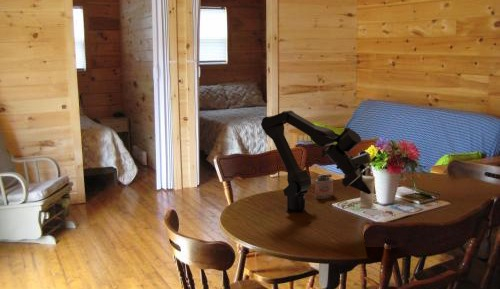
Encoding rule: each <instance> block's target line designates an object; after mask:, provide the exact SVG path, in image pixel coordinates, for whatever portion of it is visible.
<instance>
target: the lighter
mask: <svg viewBox="0 0 500 289" xmlns="http://www.w3.org/2000/svg"><path fill="white" fill-rule="evenodd" d="M314 183H315V184H314V188H315V189H314V191H315V192H314V199H318V200H319V199H321V200H322V199H323V200H324V199H330V198H331V197H332V196H333V194H334V192H333V189H334V186H333V185H334V179H332V173H328V174H327V173H326V174H324V173H322V174H319V175H317V179H315V180H314Z"/></svg>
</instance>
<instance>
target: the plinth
mask: <svg viewBox="0 0 500 289" xmlns="http://www.w3.org/2000/svg"><path fill="white" fill-rule="evenodd" d="M382 213H383V210H381V209H380V210H378V209H365V211H364V212H363V214H364V215H374V216H382Z"/></svg>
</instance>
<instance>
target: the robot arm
mask: <svg viewBox="0 0 500 289" xmlns="http://www.w3.org/2000/svg"><path fill="white" fill-rule="evenodd" d="M285 124H289V125H290V126H292V127H293V128H295V129H297V130H299V131H301V132H302V133H304V134H306V135H307V136H308V137H310V140H311V141H312V142H313V143H314V144H316V145H317V146H318V147H321V148H322V147H326V146H327V148H323V149H322V150H321V158H325V157H326V156H327V157H328V158H329V159H330V160H331V161H332V162H333V163H334V164H335V165H336V167H335V168H336V169H337V170H340V171H341V172H342V173H343V174H344V175H343V178H342V179H341V184H342V185H343V187H344V188H347V187H348V186H349V187H352V188H354V189H356V190H358V191H360V192H361V191H363V192H365V193H367V194H370V193H371V191H370V190H369V188H368V187H367V185H366V184H365V182H364V181H363V176H367V173H368V172H367V171H368V169H367V168H368V164H369V163H371V162H372V158H371V154H370V152H369V151H366V150H364V149H363V150H361V151H360V152H359V155H356V156H353V155H352V154H348V153H349V152H351V151H352V150H353V149H354V148H356V147H357V145H359V144H360V143H361V142H362V139H361V135H360V134H359V133H357V132H356V131H355V130H354V129H351V127H346V128H344V130H343V131H342V132H341V133H340V134H339V133H336V132H335V131H334V130H333V129H331V128H329V127H324V126H320V125H316V124H315V123H312V122H311V121H309V120H307V119H306V118H304V117H303V116H301V115H299V114H297V113H296V112H294V111H293V110H285V111H282V112H280V113H278V114H275V115H268V116H264V117H263V118H262V120H261V123H260V126H261V129H262V130H263V132H264V133H265V134H266V136H267V137H268V138H270V139H271V140H272V142H273V144H274V146H275V148H276V150H277V152H278V155H279V158H280V159H281V161H282V164H283V166H284V167H285V170H286V172H287V178H286V181H287V184H288V185H287V186H285V188H284V189H283V192H282V193H283V195H284V196H285V197H287V198H286V212H288V213H289V212H292V213H304V210H306V197H305V194H307V193H308V190H309V189H310V188H311V185H312V181H311V179H312V177H310V175H309V173H308V169H302V168H300V166H299V164H298V162H297V159H296V157H295V156H294V154H293V151H292V148H291V147H290V144H289V143H288V141H287V138H286V135H285V126H284V125H285ZM334 143H336V144H334Z"/></svg>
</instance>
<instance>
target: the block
mask: <svg viewBox="0 0 500 289" xmlns="http://www.w3.org/2000/svg"><path fill="white" fill-rule="evenodd" d="M375 178H376V177H375V176H373V175H366V176H363V181H364V182H365V184H366V185H367V187H368V188H369V190H370V191H371V193H370V194H367V193H365V192H363V191H360V194H359V195H360V198H359V209H365V210H367V209H371V210H373V207H374V198H375V196H374V194H375Z"/></svg>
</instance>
